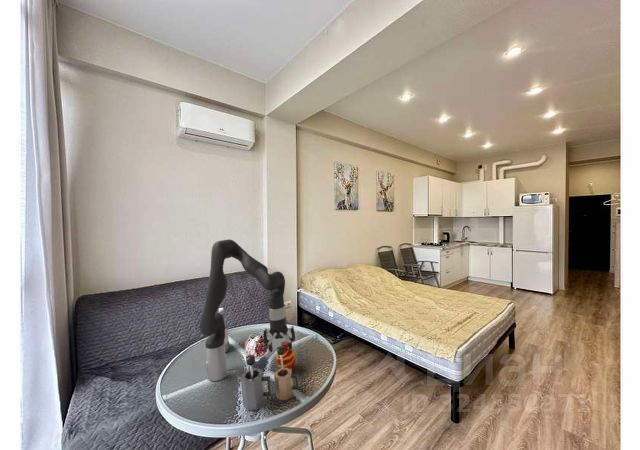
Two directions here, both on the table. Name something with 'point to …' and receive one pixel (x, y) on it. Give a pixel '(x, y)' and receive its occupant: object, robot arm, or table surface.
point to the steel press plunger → (250, 363)
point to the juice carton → (226, 341)
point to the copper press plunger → (280, 352)
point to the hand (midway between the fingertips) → (280, 350)
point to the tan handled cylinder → (285, 384)
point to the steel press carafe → (254, 389)
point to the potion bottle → (286, 357)
